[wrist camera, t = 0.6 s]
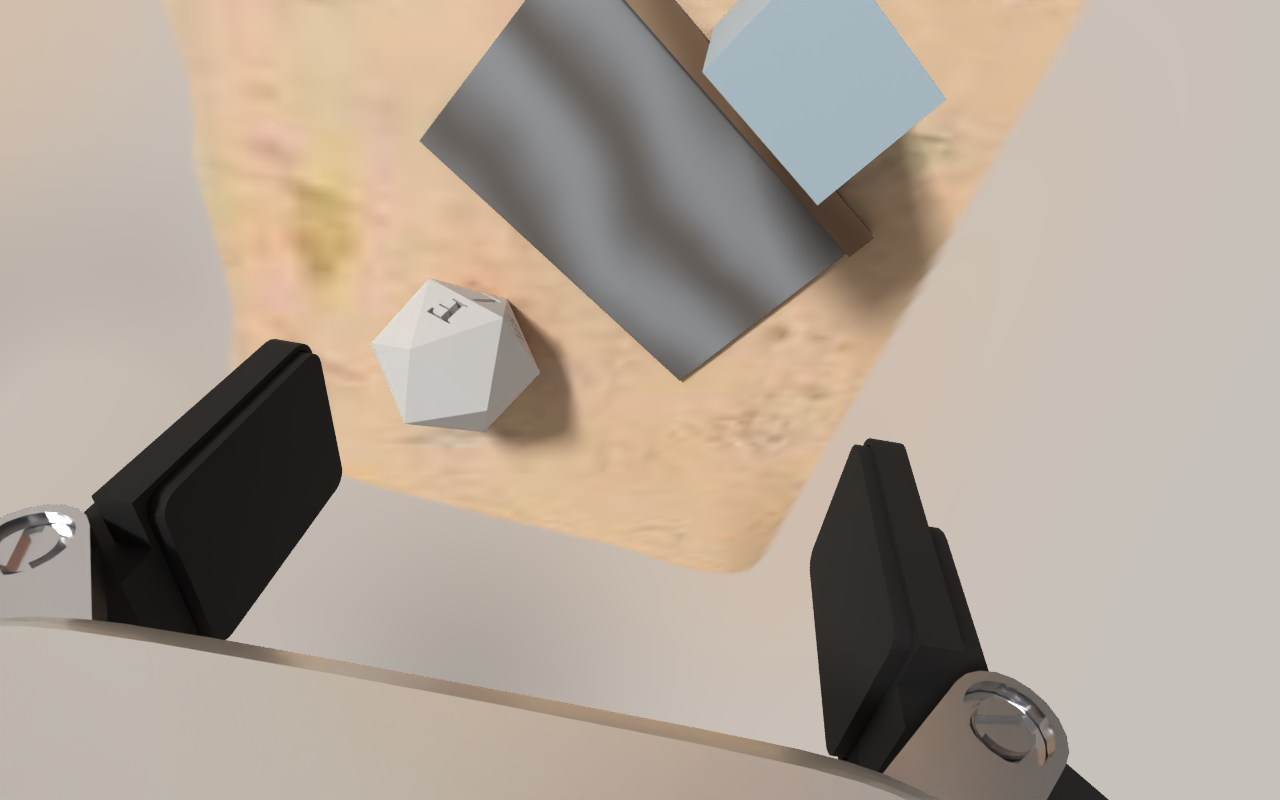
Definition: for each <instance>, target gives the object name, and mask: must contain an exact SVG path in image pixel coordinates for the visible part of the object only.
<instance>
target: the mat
mask: <svg viewBox="0 0 1280 800" xmlns="http://www.w3.org/2000/svg"><path fill="white" fill-rule="evenodd" d="M709 44H710V41H709V40H708V39H707V37H706V36H705V35H704V34H703V33H702V31H701V30H700V29H699V28H698V27H697V26H696V24H695V23H694V22H693V21H692V20H691V18H690V17H689V16H688V15H687V14H686V12H685V11H684V10H683V9H682V8H681V7H680V5H679V4H678V3H677V2H676V1H675V0H525V2H524V3H523V4H522V6H521V7H520V8H519V10H518V11H517V12H516V14H515V15H514V16H513V18H512V19H511V20H510V22H509V23H508V24H507V26H506V27H505V28H504V30H503V31H502V32H501V34H500V35H499V36H498V38H497V39H496V40H495V41H494V43H493V44H492V45H491V47H490V48H489V49H488V51H487V52H486V53H485V55H484V56H483V57H482V59H481V60H480V61H479V63H478V64H477V65H476V67H475V68H474V69H473V71H472V72H471V73H470V75H469V76H468V77H467V79H466V80H465V81H464V83H463V84H462V85H461V87H460V88H459V89H458V90H457V92H456V93H455V94H454V96H453V97H452V98H451V100H450V101H449V102H448V104H447V105H446V106H445V108H444V109H443V110H442V112H441V113H440V114H439V116H438V117H437V118H436V120H435V121H434V122H433V124H432V125H431V126H430V128H429V129H428V130H427V132H426V133H425V134H424V136H423V137H422V138H421V139H420V142H421V143H422V144H424V145H425V146H426V147H427V148H428V149H429V150H430V151H431V152H432V153H433V154H434V155H435V156H437V157H438V158H439V159H440V160H441V161H442V162H443V163H444V164H445V165H446V166H447V167H449V168H450V169H451V170H452V171H453V172H454V173H455V174H456V175H457V176H458V177H459V178H460V179H462V180H463V181H464V182H465V183H466V184H467V185H468V186H469V187H470V188H471V189H472V190H473V191H475V192H476V193H477V194H478V195H479V196H480V197H481V198H482V199H483V200H484V201H485V202H486V203H488V204H489V205H490V206H491V207H492V208H493V209H494V210H495V211H496V212H497V213H498V214H500V215H501V216H502V217H503V218H504V219H505V220H506V221H507V222H508V223H509V224H510V225H511V226H513V227H514V228H515V229H516V230H517V231H518V232H519V233H520V234H521V235H522V236H523V237H524V238H526V239H527V240H528V241H529V242H530V243H531V244H532V245H533V246H534V247H535V248H536V249H537V250H539V251H540V252H541V253H542V254H543V255H544V256H545V257H546V258H547V259H548V260H549V261H551V262H552V263H553V264H554V265H555V266H556V267H557V268H558V269H559V270H560V271H561V272H562V273H564V274H565V275H566V276H567V277H568V278H569V279H570V280H571V281H572V282H573V283H574V284H575V285H577V286H578V287H579V288H580V289H581V290H582V291H583V292H584V293H585V294H586V295H587V296H589V297H590V298H591V299H592V300H593V301H594V302H595V303H596V304H597V305H598V306H599V307H600V308H602V309H603V310H604V311H605V312H606V313H607V314H608V315H609V316H610V317H611V318H612V319H613V320H615V321H616V322H617V323H618V324H619V325H620V326H621V327H622V328H623V329H624V330H625V331H626V332H628V333H629V334H630V335H631V336H632V337H633V338H634V339H635V340H636V341H637V342H638V343H640V344H641V345H642V346H643V347H644V348H645V349H646V350H647V351H648V352H649V353H650V354H651V355H653V356H654V357H655V358H656V359H657V360H658V361H659V362H660V363H661V364H662V365H663V366H664V367H666V368H667V369H668V370H669V371H670V372H671V373H672V374H673V375H674V376H675V377H676V378H677V379H679V380H681V379H682V378H684V377H685V376H686V375H688V374H689V373H690V372H692V371H693V370H694V369H695V368H697V367H698V366H699V365H701V364H702V363H703V362H705V361H706V360H707V359H709V358H710V357H711V356H713V355H714V354H715V353H716V352H718V351H719V350H720V349H722V348H723V347H724V346H726V345H727V344H728V343H730V342H731V341H732V340H734V339H735V338H736V337H737V336H739V335H740V334H741V333H743V332H744V331H745V330H747V329H748V328H749V327H751V326H752V325H753V324H754V323H756V322H757V321H758V320H760V319H761V318H762V317H764V316H765V315H766V314H768V313H769V312H770V311H772V310H773V309H774V308H775V307H777V306H778V305H779V304H781V303H782V302H783V301H785V300H786V299H787V298H789V297H790V296H791V295H792V294H794V293H795V292H796V291H798V290H799V289H800V288H802V287H803V286H804V285H806V284H807V283H808V282H810V281H811V280H812V279H813V278H815V277H816V276H817V275H819V274H820V273H821V272H823V271H824V270H825V269H827V268H828V267H829V266H830V265H832V264H833V263H834V262H836V261H837V260H838V259H840V258H841V257H842V256H844V255H845V254H847V255H848V256H849V257H850V256H851V255H852V254H853V253H855V252H856V251H857V250H859V249H860V248H861V247H863V246H864V245H865V244H867V243H868V242H869V241H871V240H872V239H873V236H872V234H871V232H870V231H869V229H868V228H867V227H866V226H865V225H864V223H863V222H862V221H861V220H860V219H859V217H858V216H857V215H856V214H855V213H854V212H853V210H852V209H851V208H850V207H849V206H848V204H847V203H846V202H845V201H844V200H843V199H842V197H841V196H840V195H839V194H838V193H837V191H834V192H833V193H832V194H831V195H830V196H828V197H827V198H826V199H825V200H823V201H822V202H821V203H820V204H819V205H817V204H816V203H815V202H814V201H813V200H812V198H811V197H810V196H809V195H808V194H807V193H806V191H805V190H804V189H803V188H802V187H801V186H800V185H799V183H798V182H797V181H796V180H795V179H794V178H793V176H792V175H791V174H790V173H789V172H788V171H787V169H786V168H785V167H784V166H783V165H782V164H781V163H780V161H779V160H778V159H777V158H776V157H775V156H774V154H773V153H772V152H771V151H770V150H769V149H768V148H767V146H766V145H765V144H764V143H763V142H762V141H761V139H760V138H759V137H758V136H757V135H756V134H755V132H754V131H753V130H752V129H751V128H750V127H749V126H748V124H747V123H746V122H745V121H744V120H743V119H742V117H741V116H740V115H739V114H738V113H737V112H736V111H735V109H734V108H733V107H732V106H731V105H730V104H729V102H728V101H727V100H726V99H725V98H724V97H723V95H722V94H721V93H720V92H719V91H718V90H717V89H716V87H715V86H714V85H713V84H712V83H711V82H710V80H709V79H708V78H707V77H706V76H705V75H704V74H703V72H702V71H703V67H704V63H705V59H706V55H707V51H708V48H709Z"/></svg>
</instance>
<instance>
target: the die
mask: <svg viewBox="0 0 1280 800" xmlns="http://www.w3.org/2000/svg"><path fill="white" fill-rule="evenodd" d="M371 344H372V346H373V349H374V351H375V354H376V356H377V358H378V361H379V363H380V366H381V368H382V371H383V373H384V375H385V378H386V380H387V383H388V385H389V388H390V390H391V393H392V395H393V397H394V400H395V402H396V405H397V407H398V410H399V412H400V414H401V417H402V419H403V422H404V424H412V425H421V426H431V427H441V428H450V429H460V430H469V431H479V432H484V431H485V430H486V429H487V428H488V427H489V426H490V425H491V424H492V423H493V422H494V421H495V420H496V419H497V418H498V417H499V416H500V415H501V414H502V413H503V412H504V411H505V409H506V408H507V407H508V406H509V405H510V404H511V403H512V402H513V401H514V400H515V399H516V398H517V397H518V396H519V395H520V394H521V393H522V392H523V391H524V390H525V389H526V388H527V387H528V385H529V384H530V383H531V382H532V381H533V380H534V379H535V378H536V377H537V376H538V375H539V374H540V371H539V369H538V367H537V364H536V362H535V360H534V358H533V356H532V353H531V351H530V349H529V347H528V344H527V342H526V340H525V338H524V336H523V333H522V331H521V329H520V327H519V324H518V322H517V320H516V318H515V316H514V313H513V311H512V309H511V307H510V305H509V302H508V300H507V299H505V298H502V297H498V296H494V295H490V294H487V293H481V292H479V291H475V290H472V289H468V288H464V287H460V286H457V285H453V284H449V283H445V282H442V281H438V280H434V279H430V278H429V279H428V281H427V282H426V283H425V284H424V285H423V286H422V287H421V288H420V290H419V291H418V292H417V293H416V294H415V295H414V296H413V297H412V298H411V300H410V301H409V302H408V303H407V304H406V305H405V306H404V307H403V308H402V310H401V311H400V312H399V313H398V314H397V315H396V316H395V317H394V318H393V320H392V321H391V322H390V323H389V324H388V325H387V326H386V327H385V328H384V330H383V331H382V332H381V333H380V334H379V335H378V336H377V337H376V339H375V340H374V341H373V342H372V343H371Z"/></svg>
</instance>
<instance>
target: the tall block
mask: <svg viewBox="0 0 1280 800" xmlns="http://www.w3.org/2000/svg"><path fill="white" fill-rule="evenodd" d="M702 72H703V74H704V75H705V76H706V77H707V78H708V79H709V80H710V82H711V83H712V84H713V85H714V86H715V87H716V89H717V90H718V91H719V92H720V93H721V94H722V95H723V97H724V98H725V99H726V100H727V101H728V102H729V104H730V105H731V106H732V107H733V108H734V109H735V111H736V112H737V113H738V114H739V115H740V116H741V117H742V119H743V120H744V121H745V122H746V123H747V124H748V126H749V127H750V128H751V129H752V130H753V131H754V132H755V134H756V135H757V136H758V137H759V138H760V139H761V141H762V142H763V143H764V144H765V145H766V146H767V148H768V149H769V150H770V151H771V152H772V153H773V154H774V156H775V157H776V158H777V159H778V160H779V161H780V163H781V164H782V165H783V166H784V167H785V168H786V169H787V171H788V172H789V173H790V174H791V175H792V176H793V178H794V179H795V180H796V181H797V182H798V183H799V185H800V186H801V187H802V188H803V189H804V190H805V191H806V193H807V194H808V195H809V196H810V197H811V198H812V200H813V201H814V202H815V203H816V204H817V205H819V204H820V203H821V202H822V201H823V200H825V199H826V198H827V197H828V196H830V195H831V194H832V193H833V192H834V191H836V190H837V189H838V188H839V187H840V186H842V185H843V184H844V183H845V182H847V181H848V180H849V179H850V178H851V177H853V176H854V175H855V174H856V173H858V172H859V171H860V170H861V169H862V168H864V167H865V166H866V165H867V164H868V163H870V162H871V161H872V160H873V159H875V158H876V157H877V156H878V155H879V154H881V153H882V152H883V151H884V150H886V149H887V148H888V147H889V146H890V145H892V144H893V143H894V142H895V141H896V140H898V139H899V138H900V137H901V136H903V135H904V134H905V133H906V132H907V131H909V130H910V129H911V128H912V127H914V126H915V125H916V124H917V123H918V122H920V121H921V120H922V119H923V118H924V117H926V116H927V115H928V114H929V113H931V112H932V111H933V110H934V109H935V108H937V107H938V106H939V105H940V104H941V103H943V102H944V101H945V100H946V98H945V97H944V95H943V94H942V92H941V91H940V90H939V88H938V87H937V86H936V84H935V83H934V81H933V80H932V79H931V77H930V76H929V74H928V73H927V72H926V70H925V69H924V68H923V66H922V65H921V63H920V62H919V61H918V59H917V58H916V57H915V55H914V54H913V52H912V51H911V50H910V48H909V47H908V46H907V44H906V43H905V41H904V40H903V39H902V37H901V36H900V35H899V33H898V32H897V30H896V29H895V28H894V26H893V25H892V24H891V22H890V21H889V19H888V18H887V17H886V15H885V14H884V12H883V11H882V10H881V8H880V7H879V6H878V4H877V3H876V1H875V0H739V1H738V2H737V3H736V4H735V5H734V6H733V7H732V8H731V10H730V11H729V12H728V13H727V14H726V15H725V16H724V17H723V18H722V19H721V20H720V21H719V22H718V23H717V24H716V26H715V27H714V28H713V32H712V36H711V40H710V44H709V48H708V51H707V55H706V59H705V63H704V67H703V71H702Z"/></svg>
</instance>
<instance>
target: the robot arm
mask: <svg viewBox="0 0 1280 800" xmlns="http://www.w3.org/2000/svg"><path fill="white" fill-rule="evenodd" d="M341 476H342V466H341V461H340V456H339V451H338V446H337V441H336V436H335V431H334V426H333V421H332V416H331V411H330V405H329V400H328V395H327V390H326V385H325V380H324V375H323V370H322V365H321V361H320V358H319V357H318V355H316V354H312V351H311V349H310V348H309V346H307V345H305V344H301V343H295V342H289V341H283V340H277V339H272V340H269V341H267V342H266V343H265V344H264V345H262V346H261V347H260V348H259V349H258V350H257V351H256V352H255V353H253V354H252V355H251V356H250V357H249V358H248V359H247V360H245V361H244V362H243V363H242V364H241V365H240V366H239V367H237V368H236V369H235V370H234V371H233V372H232V373H231V374H230V375H228V376H227V377H226V378H225V379H224V380H223V381H222V382H220V383H219V384H218V385H217V386H216V387H215V388H214V389H212V390H211V391H210V392H209V393H208V394H207V395H206V396H205V397H203V398H202V399H201V400H200V401H199V402H198V403H197V404H196V405H195V406H193V407H192V408H191V409H190V410H189V411H188V412H186V413H185V414H184V415H183V416H182V417H181V418H180V419H178V420H177V421H176V422H175V423H174V424H173V425H172V426H171V427H169V428H168V429H167V430H166V431H165V432H164V433H163V434H161V435H160V436H159V437H158V438H157V439H156V440H155V441H153V442H152V443H151V444H150V445H149V446H148V447H147V448H145V449H144V450H143V451H142V452H141V453H140V454H139V455H138V456H136V457H135V458H134V459H133V460H132V461H131V462H130V463H129V464H127V465H126V466H125V467H124V468H123V469H122V470H120V471H119V472H118V473H117V474H116V475H115V476H114V477H113V478H111V479H110V480H109V481H108V482H107V483H106V484H105V485H103V486H102V487H101V488H100V489H99V490H98V491H97V492H96V493H94V494H93V495H92V498H93V500H94V502H95V503H94V504H93V505H92V506H90V507H89V508H88V509H87V510H86V511H85V512H84V513H83V512H82V511H80V510H79V509H78V508H74V507H70V506H66V505H42V506H37V507H31V508H26V509H23V510H20V511H17V512H14V513H11V514H8V515H5V516H3V517H1V518H0V800H1108V799H1107V798H1106V797H1105V796H1104V795H1102V794H1101V793H1100V792H1099V791H1098V790H1097V789H1095V788H1094V787H1093V786H1092V785H1091V784H1090V783H1088V782H1087V781H1086V780H1085V779H1084V778H1083V777H1081V776H1080V775H1079V774H1078V773H1077V772H1076V771H1074V770H1073V769H1072V768H1071V767H1069V765H1067V764H1066V762H1067V758H1068V755H1069V749H1068V742H1067V736H1066V734H1065V732H1064V729H1063V727H1062V725H1061V723H1060V721H1059V719H1058V718H1057V716H1056V715H1055V714H1054V712H1053V711H1052V710H1051V709H1050V707H1049V706H1048V705H1047V703H1046V702H1045V701H1044V700H1042V699H1041V698H1040V697H1039V696H1038V695H1037V694H1035V692H1033V691H1032V690H1031V689H1030V688H1028V687H1026V686H1025V685H1023V684H1022V683H1020V682H1018V681H1017V680H1015V679H1013V678H1010V677H1008V676H1005V675H1002V674H999V673H997V672H989V671H988V668H987V664H986V662H985V658H984V655H983V652H982V649H981V646H980V642H979V639H978V636H977V633H976V630H975V627H974V624H973V620H972V617H971V614H970V611H969V608H968V605H967V602H966V598H965V595H964V592H963V589H962V586H961V583H960V580H959V576H958V574H957V570H956V567H955V564H954V561H953V558H952V554H951V551H950V548H949V545H948V542H947V539H946V537H945V535H944V533H943V532H942V531H941V530H940V529H939V528H934V527H928V523H927V520H926V516H925V513H924V510H923V506H922V503H921V500H920V496H919V493H918V490H917V486H916V483H915V479H914V476H913V472H912V469H911V466H910V462H909V459H908V455H907V452H906V449H905V447H904V445H903V444H901V443H895V442H889V441H883V440H876V439H870V438H869V439H867V440H866V441H865V443H864V445H863V446H861V445H854V446H853V447H852V449H851V451H850V454H849V457H848V459H847V462H846V464H845V467H844V470H843V472H842V475H841V477H840V480H839V483H838V485H837V488H836V490H835V493H834V496H833V498H832V501H831V504H830V506H829V509H828V511H827V514H826V517H825V519H824V522H823V524H822V527H821V530H820V532H819V535H818V537H817V540H816V543H815V545H814V548H813V551H812V555H811V560H810V577H811V588H812V598H813V609H814V620H815V631H816V641H817V652H818V662H819V674H820V683H821V695H822V706H823V716H824V728H825V738H826V747H827V751H828V753H829V755H832V756H837V757H838V759H834V758H830V757H826V756H823V755H819V754H815V753H811V752H807V751H803V750H799V749H795V748H789V747H785V746H780V745H775V744H771V743H766V742H761V741H756V740H751V739H747V738H742V737H737V736H732V735H727V734H723V733H718V732H713V731H708V730H703V729H698V728H694V727H688V726H683V725H677V724H673V723H667V722H662V721H657V720H652V719H647V718H641V717H636V716H631V715H626V714H620V713H615V712H610V711H605V710H599V709H594V708H589V707H583V706H579V705H573V704H568V703H563V702H558V701H553V700H548V699H542V698H537V697H531V696H526V695H521V694H515V693H510V692H504V691H499V690H494V689H488V688H483V687H478V686H472V685H467V684H462V683H457V682H451V681H446V680H440V679H435V678H430V677H424V676H419V675H414V674H408V673H403V672H397V671H392V670H387V669H381V668H376V667H370V666H365V665H359V664H353V663H348V662H343V661H337V660H331V659H326V658H321V657H315V656H310V655H303V654H298V653H293V652H288V651H282V650H276V649H271V648H265V647H260V646H254V645H249V644H243V643H238V642H232V641H227V640H226V639H227V638H228V637H230V635H231V634H232V633H233V632H234V630H235V629H236V627H237V626H238V625H239V623H240V622H241V621H242V619H243V618H244V616H245V615H246V614H247V612H248V611H249V610H250V608H251V607H252V605H253V604H254V603H255V601H256V600H257V599H258V597H259V596H260V594H261V593H262V592H263V590H264V589H265V587H266V586H267V585H268V583H269V582H270V580H271V579H272V578H273V576H274V575H275V573H276V572H277V571H278V569H279V568H280V567H281V565H282V564H283V562H284V561H285V560H286V558H287V557H288V555H289V554H290V553H291V551H292V550H293V549H294V547H295V546H296V544H297V543H298V542H299V540H300V539H301V538H302V536H303V535H304V533H305V532H306V530H307V529H308V528H309V526H310V525H311V524H312V522H313V521H314V519H315V518H316V517H317V515H318V514H319V512H320V511H321V510H322V508H323V507H324V505H325V504H326V503H327V501H328V500H329V499H330V497H331V496H332V494H333V493H334V492H335V490H336V489H337V487H338V485H339V483H340V480H341Z"/></svg>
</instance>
